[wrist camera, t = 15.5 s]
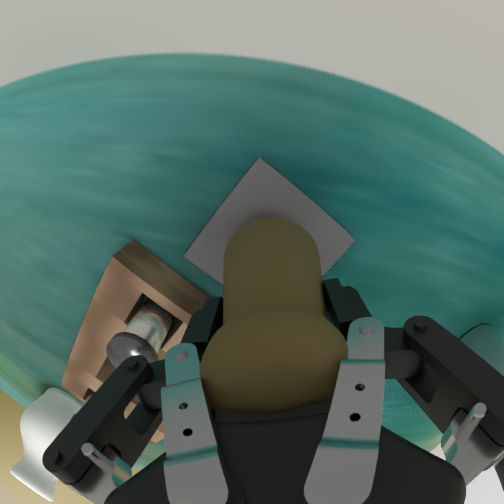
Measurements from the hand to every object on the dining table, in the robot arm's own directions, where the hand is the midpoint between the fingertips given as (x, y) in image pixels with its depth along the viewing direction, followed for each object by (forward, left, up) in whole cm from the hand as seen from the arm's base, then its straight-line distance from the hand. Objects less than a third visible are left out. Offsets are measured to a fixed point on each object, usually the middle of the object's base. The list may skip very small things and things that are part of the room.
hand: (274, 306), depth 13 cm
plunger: (+4, +10, -9) cm, 14 cm away
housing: (+2, +19, -10) cm, 22 cm away
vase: (+7, +46, -10) cm, 48 cm away
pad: (0, 0, -10) cm, 10 cm away
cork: (0, 0, -5) cm, 5 cm away
